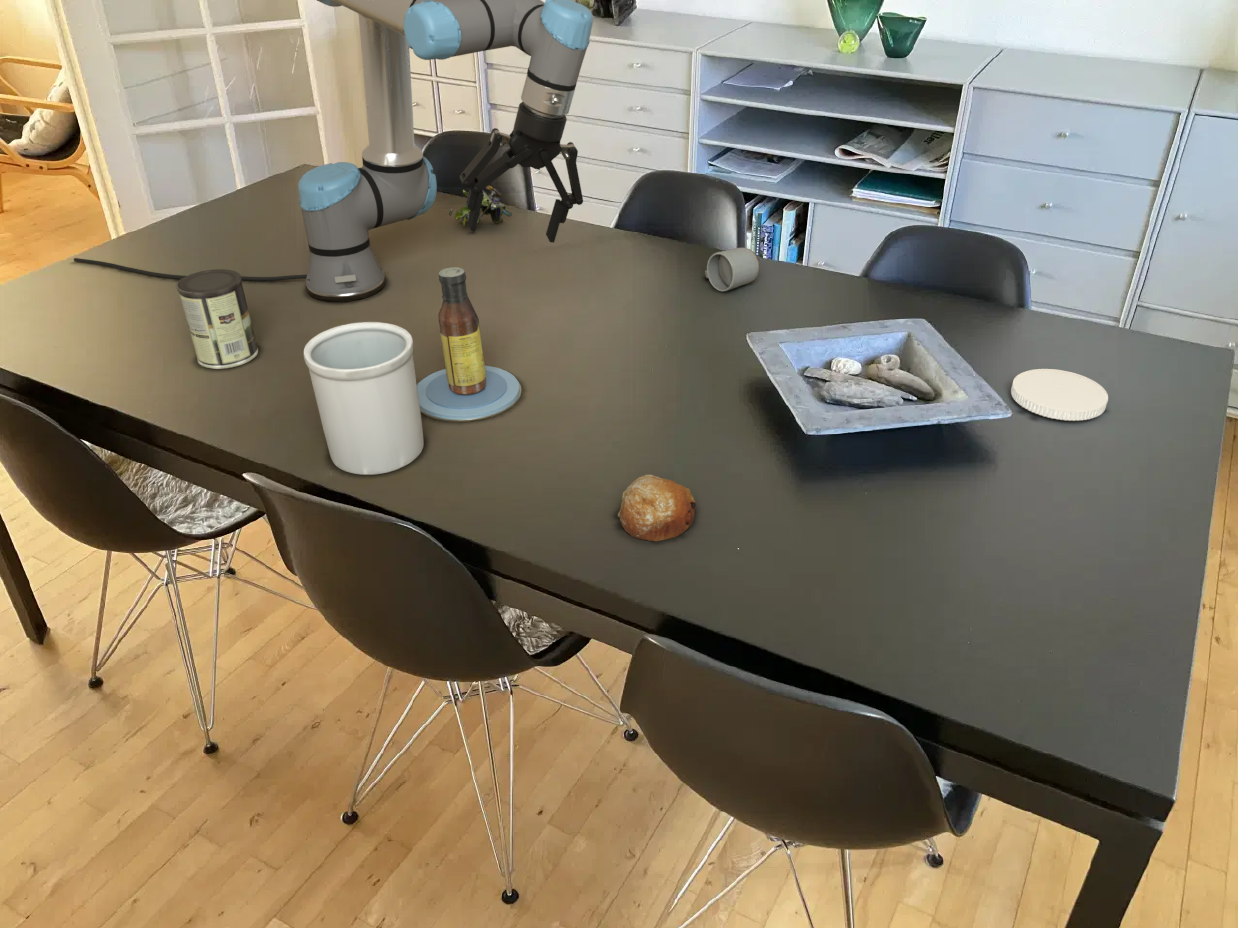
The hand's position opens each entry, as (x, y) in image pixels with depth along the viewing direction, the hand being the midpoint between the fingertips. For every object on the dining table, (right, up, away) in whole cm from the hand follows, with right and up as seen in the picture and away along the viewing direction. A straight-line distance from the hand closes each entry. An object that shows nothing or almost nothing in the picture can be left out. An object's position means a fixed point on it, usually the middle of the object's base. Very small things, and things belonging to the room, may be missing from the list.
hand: (511, 233), depth 163 cm
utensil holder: (-18, -36, -16) cm, 44 cm away
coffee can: (-51, -19, +10) cm, 55 cm away
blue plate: (-7, -27, -2) cm, 28 cm away
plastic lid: (+87, -29, -6) cm, 92 cm away
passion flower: (-14, +16, +63) cm, 67 cm away
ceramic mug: (+39, -2, +35) cm, 53 cm away
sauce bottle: (-7, -26, -3) cm, 27 cm away
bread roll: (+23, -46, -31) cm, 60 cm away
